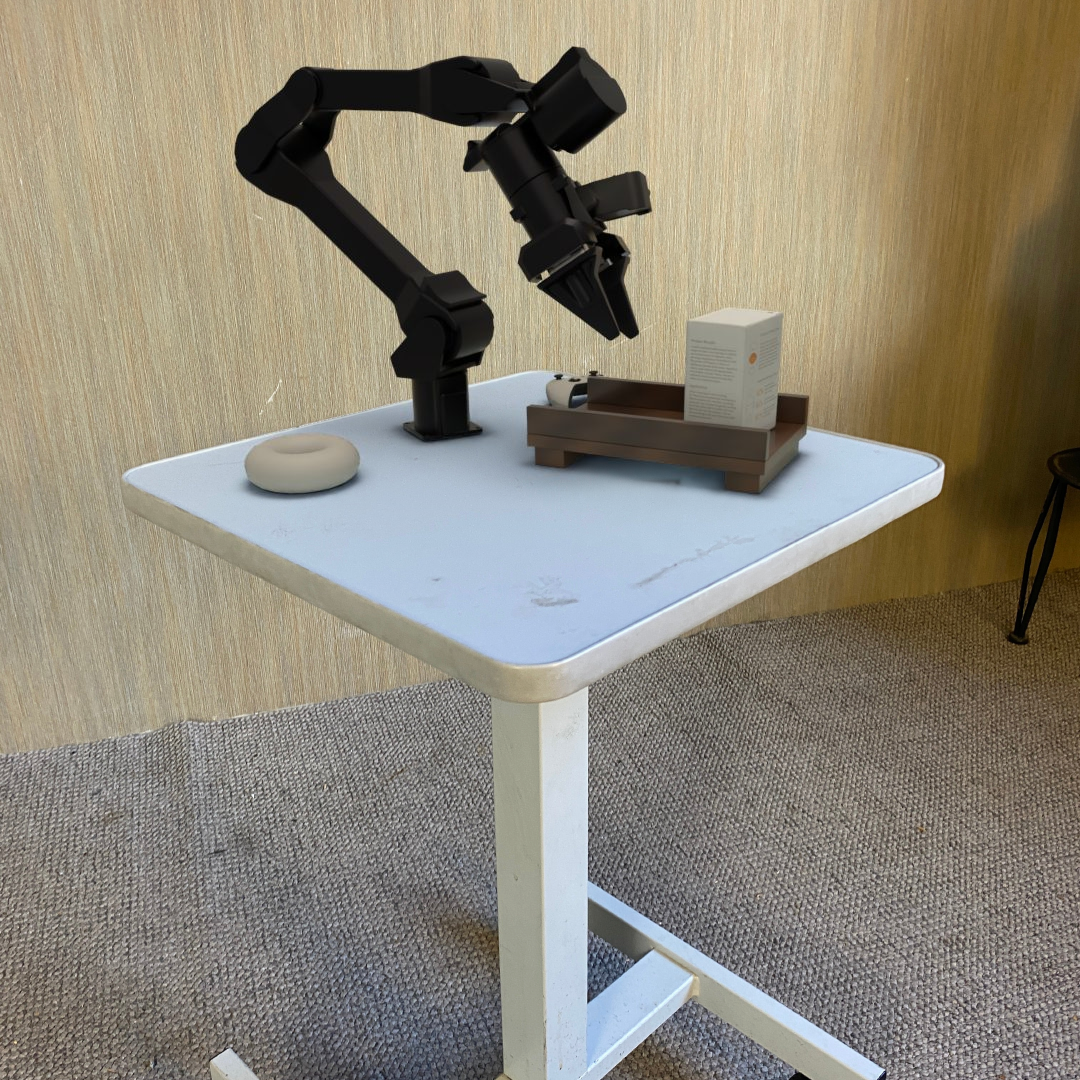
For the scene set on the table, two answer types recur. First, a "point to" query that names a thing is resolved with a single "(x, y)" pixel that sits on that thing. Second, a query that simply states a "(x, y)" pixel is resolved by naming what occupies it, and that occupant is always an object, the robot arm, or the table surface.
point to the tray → (665, 432)
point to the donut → (302, 463)
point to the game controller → (567, 389)
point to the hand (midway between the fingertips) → (625, 337)
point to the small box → (733, 367)
